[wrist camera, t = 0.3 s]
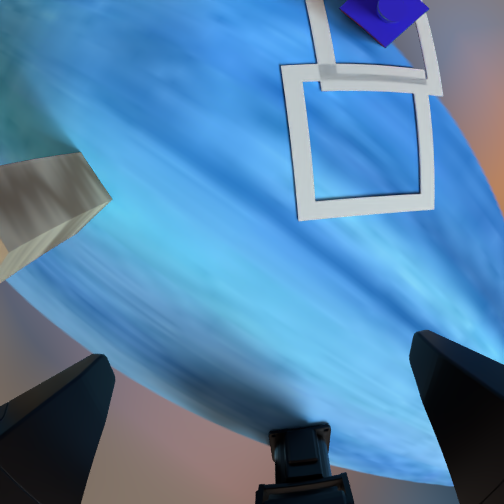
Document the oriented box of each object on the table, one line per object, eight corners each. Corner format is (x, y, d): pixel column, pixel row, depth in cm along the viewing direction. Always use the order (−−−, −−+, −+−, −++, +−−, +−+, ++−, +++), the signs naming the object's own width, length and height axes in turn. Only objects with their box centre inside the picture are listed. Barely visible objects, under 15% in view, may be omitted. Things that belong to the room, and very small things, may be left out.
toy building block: (344, 14, 16) (333, 4, 11) (379, -19, 13) (384, -44, 8) (381, 45, 17) (388, 50, 11) (416, 13, 14) (440, 5, 8)
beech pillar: (112, 199, 20) (8, 252, 10) (76, 233, 21) (-20, 297, 11) (80, 152, 19) (-33, 173, 8) (47, 189, 20) (-57, 230, 9)
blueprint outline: (447, 207, 20) (448, 208, 19) (298, 220, 20) (298, 221, 20) (410, -29, 13) (411, -30, 13) (261, -42, 14) (261, -43, 13)
